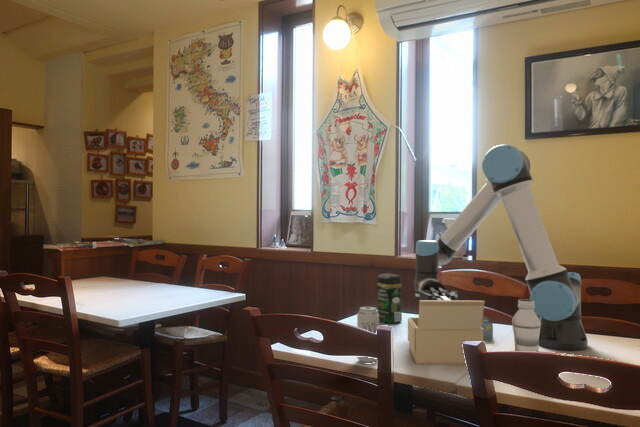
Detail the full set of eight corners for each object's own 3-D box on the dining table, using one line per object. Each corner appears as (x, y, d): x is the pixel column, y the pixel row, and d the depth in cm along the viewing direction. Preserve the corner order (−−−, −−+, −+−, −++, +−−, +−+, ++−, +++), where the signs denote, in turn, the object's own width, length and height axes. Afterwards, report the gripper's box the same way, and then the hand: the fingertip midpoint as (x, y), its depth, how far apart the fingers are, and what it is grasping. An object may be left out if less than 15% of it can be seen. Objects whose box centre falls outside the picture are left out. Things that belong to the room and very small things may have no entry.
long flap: (484, 300, 127) (484, 301, 127) (480, 328, 131) (481, 329, 130) (419, 300, 128) (420, 301, 128) (417, 328, 132) (418, 329, 131)
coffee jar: (373, 320, 189) (373, 273, 189) (390, 318, 193) (390, 271, 193) (388, 324, 180) (388, 275, 181) (405, 322, 184) (405, 274, 184)
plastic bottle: (547, 386, 114) (546, 302, 115) (520, 387, 114) (519, 302, 114) (533, 377, 121) (532, 297, 121) (507, 378, 120) (507, 298, 121)
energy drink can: (359, 365, 131) (359, 310, 131) (355, 358, 137) (355, 306, 137) (381, 364, 132) (381, 310, 132) (376, 358, 138) (376, 306, 138)
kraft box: (470, 350, 145) (470, 317, 145) (484, 365, 131) (484, 328, 131) (407, 349, 146) (407, 317, 146) (414, 364, 132) (414, 328, 132)
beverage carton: (468, 340, 159) (468, 320, 159) (458, 327, 178) (457, 309, 178) (493, 340, 158) (493, 320, 158) (480, 327, 177) (479, 309, 177)
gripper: (452, 303, 152) (472, 319, 129) (411, 302, 153) (423, 318, 130) (452, 279, 152) (472, 291, 129) (411, 279, 153) (423, 290, 130)
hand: (447, 305), depth 129 cm, fingers closed
